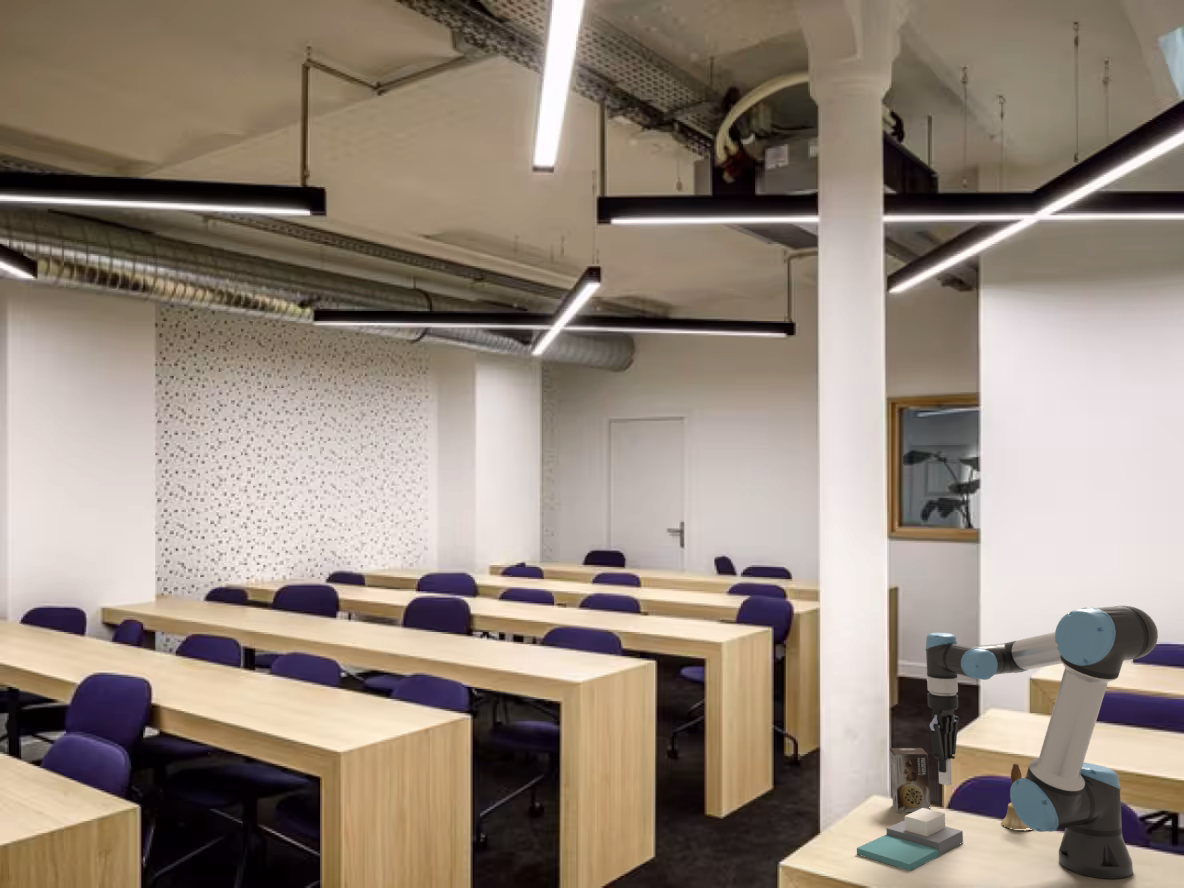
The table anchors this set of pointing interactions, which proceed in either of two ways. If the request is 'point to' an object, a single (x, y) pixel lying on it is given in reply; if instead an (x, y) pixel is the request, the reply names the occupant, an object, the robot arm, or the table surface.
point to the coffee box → (910, 779)
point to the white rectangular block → (925, 822)
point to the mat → (898, 852)
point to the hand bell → (1011, 817)
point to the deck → (929, 837)
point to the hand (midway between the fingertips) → (945, 783)
